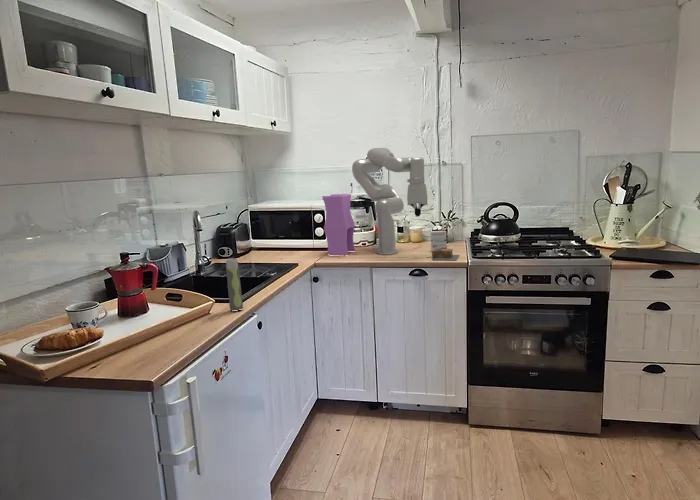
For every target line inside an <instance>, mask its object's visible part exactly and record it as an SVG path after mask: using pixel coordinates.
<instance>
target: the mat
mask: <svg viewBox="0 0 700 500" xmlns="http://www.w3.org/2000/svg"><path fill="white" fill-rule="evenodd" d="M452 255H453V256H452V257H451V258H432V261H437V262H438V261H446V262H447V261H449V262H451V261H454V262H455V261H457V259H458V258H459V257H460V254H452Z"/></svg>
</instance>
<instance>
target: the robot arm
mask: <svg viewBox="0 0 700 500" xmlns="http://www.w3.org/2000/svg"><path fill="white" fill-rule="evenodd" d="M383 168H385V169H386V170H387V171H390V172H394V173H409V179H406V180H407V181H406V183H409V184H408V186H407V195H406V196H407V197H406V198H407V199H406V200H407V201H406V202H407V206H410V207H412V208H413V209H414V215H415V217H420V216H421V215H422V213H421V212H422V208H423V207H425V206H427V205H428V191H427V190H428V189H427V184H426V183H425V159H424V158H423V157H395V155H394V153H393V152H392V151H390V149H388V148H387V147H373V148H371V149H369V150H368V151H367V153H366V158H360V159H357V160H355V161H354V162H353V163H352V165H351V172H352V176H353V177H354V179H355V180H356V182H357V183H358V184H359V185H360V186H361V188H362V189H363V190H364V192H365V193H366V195H367V196H368V197H369V199H370V200H371V201H372V202H375V205H374V206H375V207H374V209H375V214H376V218H377V219H376V220H377V231H378V232H377V233H378V245H372V247H371V248H372V250H376V254H377V253H378V255H383V254H384V255H385V256H386V255H394V254H395V255H396V254H398V253H399V250H398V249H397V248H396V230H395V229H396V228H395V220H394V217H393V216H392V215H395V214H400V213H401V212H402V211H403V210H404V207H405V206H404V205H405V204H404V201H403V199H402V198H401V196H400V195H399V193H397V191H396V190H395V189H394V187H393V186H391V185H390V184H386V183H384V184H380V183H378V182H377V181H376V180H375V178H374V177H372V175H370V174H374V173H378V172H379V171H380V170H381V169H383Z"/></svg>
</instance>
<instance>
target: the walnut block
mask: <svg viewBox="0 0 700 500" xmlns="http://www.w3.org/2000/svg"><path fill="white" fill-rule="evenodd" d="M453 255H454V254H453V248H447V249H433V250H432V252H431V259H434V258H451V257H452V256H453Z"/></svg>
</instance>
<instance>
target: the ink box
mask: <svg viewBox="0 0 700 500" xmlns="http://www.w3.org/2000/svg"><path fill="white" fill-rule="evenodd" d="M447 241H448V239H447V231H446V230H431V231H430V249H431V250H430V251H431V253H432V250H433V249H448V248H447V247H448V244H447Z"/></svg>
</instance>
